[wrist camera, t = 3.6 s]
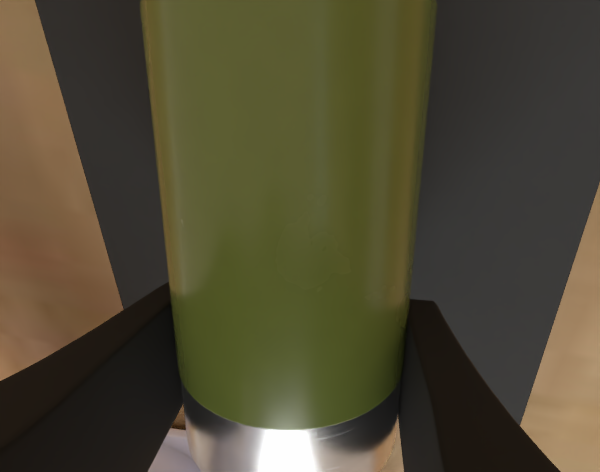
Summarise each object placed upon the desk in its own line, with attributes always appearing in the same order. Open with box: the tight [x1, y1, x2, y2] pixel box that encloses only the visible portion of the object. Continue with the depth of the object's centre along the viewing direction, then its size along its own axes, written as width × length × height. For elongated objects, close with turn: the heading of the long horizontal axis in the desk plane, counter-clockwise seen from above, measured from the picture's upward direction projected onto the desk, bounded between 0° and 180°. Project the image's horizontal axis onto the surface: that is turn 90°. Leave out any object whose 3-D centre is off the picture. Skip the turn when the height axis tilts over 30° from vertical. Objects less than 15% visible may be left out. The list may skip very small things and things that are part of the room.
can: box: [140, 0, 437, 472], centre depth 9 cm, size 5×5×10 cm
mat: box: [35, 0, 600, 425], centre depth 11 cm, size 22×14×1 cm, turn 2°
